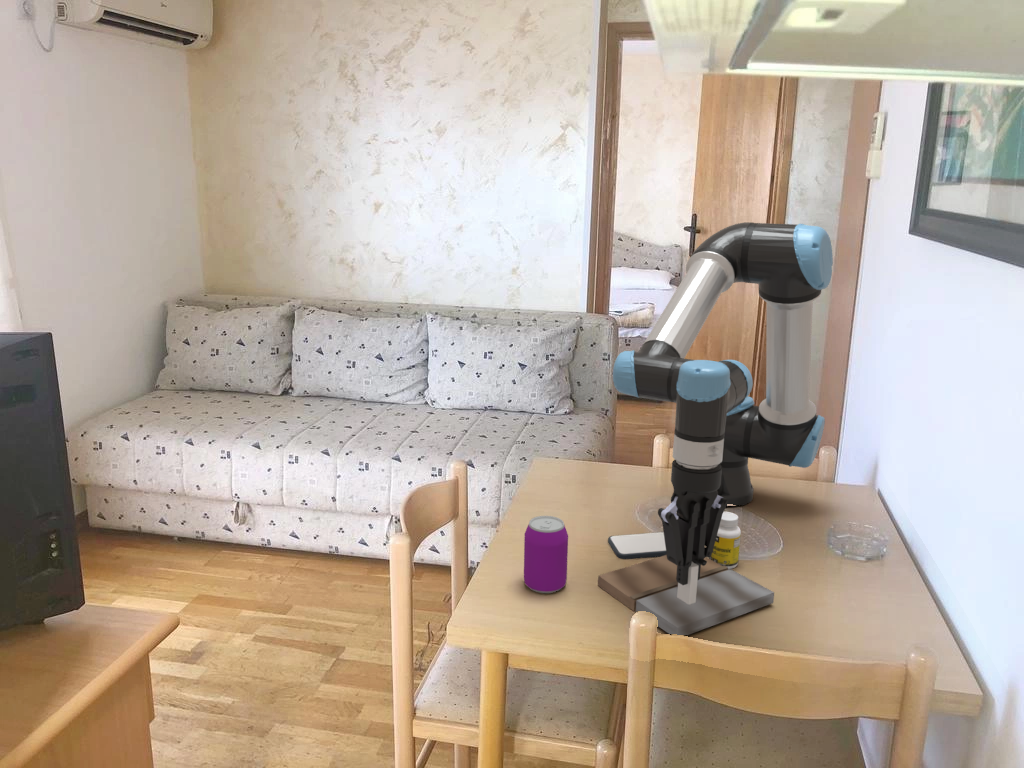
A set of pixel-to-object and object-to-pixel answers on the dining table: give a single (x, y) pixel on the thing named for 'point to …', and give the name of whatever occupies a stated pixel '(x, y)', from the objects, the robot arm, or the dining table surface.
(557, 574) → the beverage can
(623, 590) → the walnut floor board
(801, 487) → the dining table surface
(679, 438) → the robot arm
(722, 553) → the supplement bottle
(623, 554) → the smartphone
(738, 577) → the grey plank
